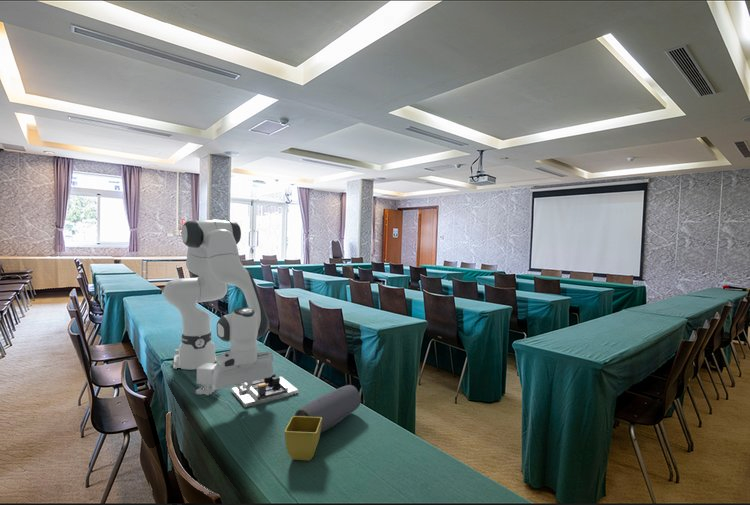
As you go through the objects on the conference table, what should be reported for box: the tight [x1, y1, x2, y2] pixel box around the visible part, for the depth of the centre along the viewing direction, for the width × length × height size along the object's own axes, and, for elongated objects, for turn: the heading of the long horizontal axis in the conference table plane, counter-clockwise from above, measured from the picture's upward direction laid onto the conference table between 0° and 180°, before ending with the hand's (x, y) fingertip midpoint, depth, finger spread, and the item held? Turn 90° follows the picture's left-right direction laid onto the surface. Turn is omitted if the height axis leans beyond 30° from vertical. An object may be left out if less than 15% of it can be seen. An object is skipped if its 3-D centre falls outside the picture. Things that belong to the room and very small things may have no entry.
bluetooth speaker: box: [294, 384, 362, 433], centre depth 121 cm, size 23×9×10 cm, turn 145°
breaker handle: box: [258, 383, 266, 395], centre depth 136 cm, size 2×2×4 cm
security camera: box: [195, 363, 218, 396], centre depth 143 cm, size 6×7×10 cm
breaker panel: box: [231, 372, 299, 408], centre depth 143 cm, size 15×20×6 cm
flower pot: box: [284, 415, 322, 461], centre depth 105 cm, size 9×9×9 cm
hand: (243, 394), depth 132 cm, fingers closed
